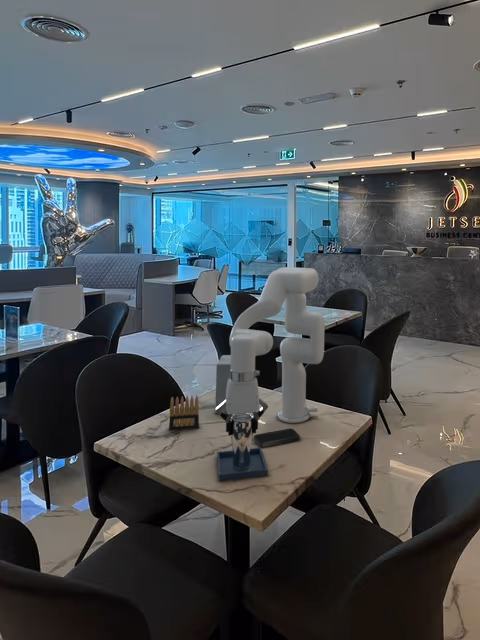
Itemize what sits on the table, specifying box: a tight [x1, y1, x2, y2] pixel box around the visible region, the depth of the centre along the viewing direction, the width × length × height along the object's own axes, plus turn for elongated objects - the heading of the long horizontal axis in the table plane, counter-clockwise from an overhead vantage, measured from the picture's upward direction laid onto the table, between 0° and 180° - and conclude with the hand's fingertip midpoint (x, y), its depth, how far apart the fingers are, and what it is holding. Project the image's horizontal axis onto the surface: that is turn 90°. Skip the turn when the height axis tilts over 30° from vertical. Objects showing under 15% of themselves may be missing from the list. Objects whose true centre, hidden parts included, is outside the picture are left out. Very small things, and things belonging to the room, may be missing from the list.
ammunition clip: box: [168, 395, 200, 431], centre depth 162 cm, size 11×2×12 cm, turn 103°
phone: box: [253, 428, 301, 448], centre depth 155 cm, size 8×1×15 cm
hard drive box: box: [214, 354, 231, 414], centre depth 184 cm, size 16×8×20 cm, turn 2°
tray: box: [216, 447, 269, 482], centre depth 136 cm, size 14×14×2 cm
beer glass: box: [230, 413, 254, 470], centre depth 136 cm, size 7×7×15 cm
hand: (241, 432), depth 136 cm, fingers closed on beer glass, 7 cm apart
